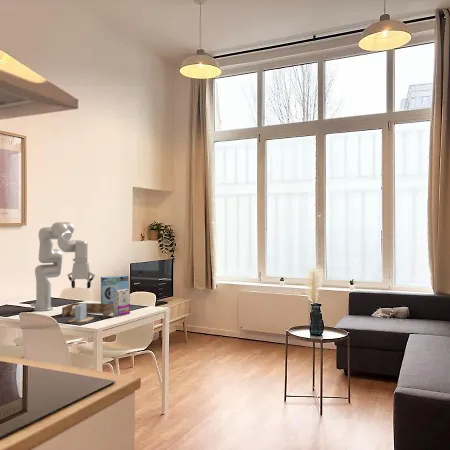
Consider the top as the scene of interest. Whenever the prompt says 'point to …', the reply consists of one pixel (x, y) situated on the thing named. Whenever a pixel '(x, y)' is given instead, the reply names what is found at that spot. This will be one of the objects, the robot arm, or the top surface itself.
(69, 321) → the mat
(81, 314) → the pale blue block
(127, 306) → the candy bar box
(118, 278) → the blue cardboard box
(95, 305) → the rack
